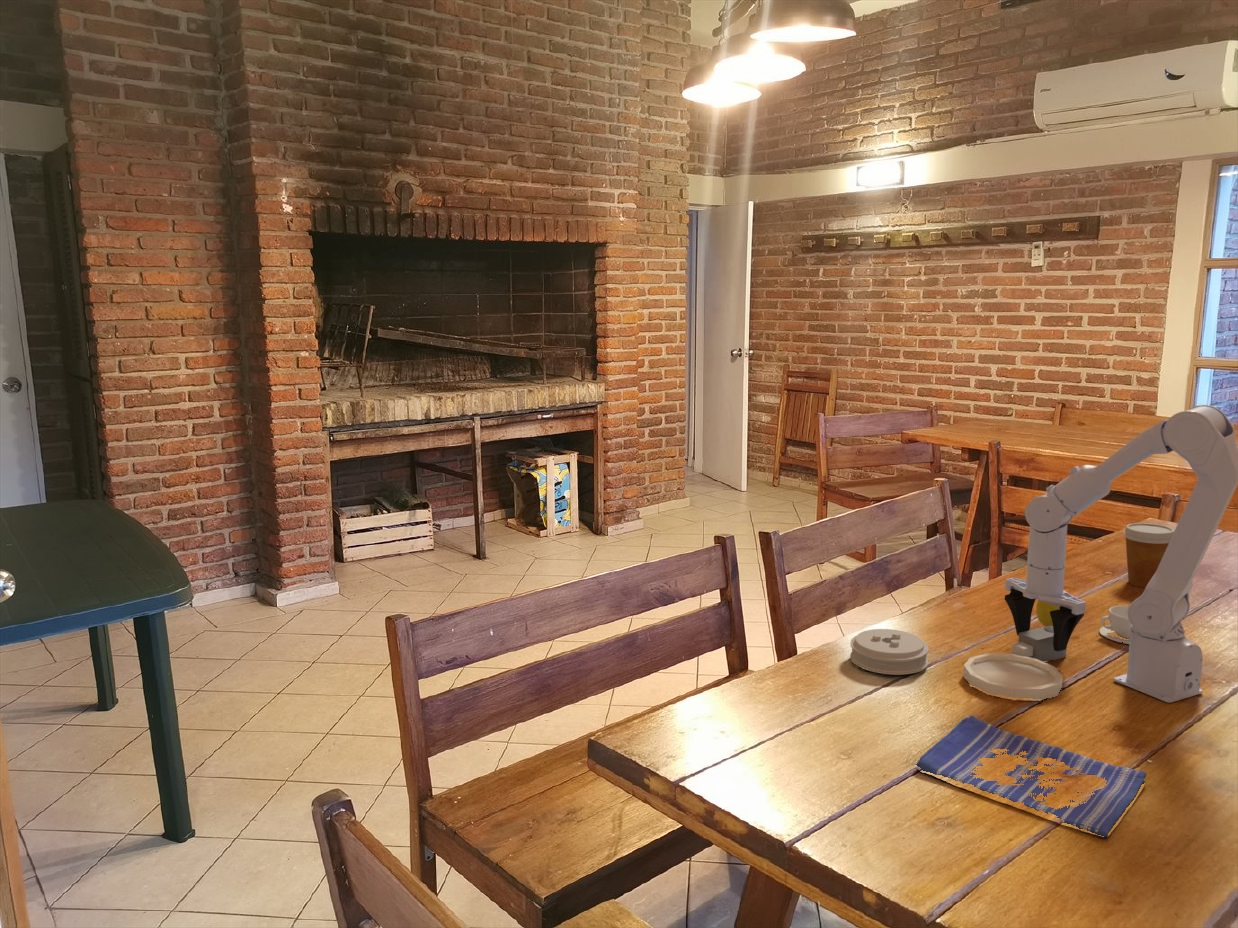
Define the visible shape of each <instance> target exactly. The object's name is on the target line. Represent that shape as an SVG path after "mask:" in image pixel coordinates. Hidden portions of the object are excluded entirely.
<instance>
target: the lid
mask: <svg viewBox="0 0 1238 928" xmlns="http://www.w3.org/2000/svg"><path fill="white" fill-rule="evenodd" d="M850 647H851V652H850V654H849V657H850V661H851V662H852V663H853V664H854V665H855V666H857V667H859V668H861V669H863V670H866V671H869V672H873V673H876V674H877V673H878V674H881V675H892V676H893V675H894V676H896V675H897V676H898V675H899V676H901V675H903V676H905V675H910V674H911V675H912V674H917V673H919V672H922V671H923V670H925V669H927V668H928V666H929V660H928V658H927V657H928V654H929V650H930V649H929V645H928V644H927V643H926V642H925V641H924V640H923V639H922V638H920V637H919V636H917V635H916V634H913V633H911V632H907V631H905V630H898V629H891V628H874V629H869V630H863V631H861V632H859V633H858V634H857V635H855V636H854V637H852V638H851V639H850Z"/></svg>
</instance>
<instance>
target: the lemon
mask: <svg viewBox="0 0 1238 928" xmlns="http://www.w3.org/2000/svg"><path fill="white" fill-rule="evenodd" d="M1054 610H1060V607H1057V606H1054V605H1052V604H1049V603H1046V602H1043V601H1040V600H1038V599H1037V602H1036V611H1035V612H1036V616H1037V619H1038V621H1039V622H1040V623H1041V624H1042V625H1043V627H1046V626H1053V623H1052V619H1051V616H1050V611H1054Z"/></svg>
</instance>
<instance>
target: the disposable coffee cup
mask: <svg viewBox="0 0 1238 928" xmlns="http://www.w3.org/2000/svg"><path fill="white" fill-rule="evenodd" d="M1174 531H1175V529H1173V528H1172V527H1169V526H1166V525H1162V524H1156V523H1145V522H1135V523H1128V524H1127V525H1126V527H1125V529H1124V530H1123V532H1122V533H1123V534H1124V537H1125V548H1126V549H1125V550H1126V564H1127V577H1128V578H1127V579H1128V583H1129V584H1130V585H1133V586H1135V587H1139V588H1144V589H1145V588H1146V586H1147V584H1148V583H1149V581H1150V580H1151V578H1152V577H1153V575H1154V574H1155V572H1156V571H1157V568H1158V566H1159V564H1160V562H1161V560H1162V557H1163V555H1164V553H1165V551H1166V549H1167V546H1168V544H1169V542H1170V540H1171V538H1172V535H1173V533H1174Z"/></svg>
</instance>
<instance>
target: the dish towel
mask: <svg viewBox="0 0 1238 928" xmlns="http://www.w3.org/2000/svg"><path fill="white" fill-rule="evenodd" d="M989 749H990V751H988V750H989ZM992 749H993V750H994V749H1007V750H1009V751H1007V754H1008V755H1009V754H1010V756H1012V757H1013V755H1014V756H1015V755H1019V753H1020V752H1022V751H1023V752H1024V751H1026V753H1028V754H1026V755H1022V756H1020V757H1022V758H1027V761H1029V763H1030V762H1031V763H1033V766H1037V764H1038V760H1036V758H1038V757H1039V758H1040V757H1041V758H1042V757H1043V758H1052V759H1056V761H1057V760H1058V761H1060V762H1064V763H1065V765H1067V766H1070V768H1073V767H1074V768H1075V767H1076V769H1074V771H1073V769H1072V770H1071V769H1070V770H1065V772H1063V773H1061V774H1065V775H1082V774H1080V773H1084V774H1083V775H1096V776H1097V778H1098V777H1099V778H1100V777H1101V778H1102V777H1103V779H1104V777H1105V780H1107V782H1106V784H1107V785H1106V787H1105V788H1103V789H1099V790H1096V791H1094V793H1095V794H1093V796H1092V795H1091V798H1090V799H1089V800H1088V801H1087V803H1085V804H1084V803H1083V804H1081V805H1080V804H1079V806H1077V807H1072V806H1071V807H1070V805H1069V806H1068V808H1067V806H1065V807H1063V808H1061V809H1060V808H1059V809H1057V810H1056V809H1054V808H1051V807H1048V806H1046V805H1044V804H1042V803H1040V802H1041V801H1035V800H1034V799H1033V796H1034V797H1035V799H1036V797H1037V795H1039V794H1040V793H1041V794H1042V793H1043V796H1044V797H1045V796H1046V797H1047V793H1054V792H1055V791H1056V790H1057V789H1055V787H1054V789H1053V787H1051V789H1050V787H1049V785H1048V789H1047V788H1045V787H1044V786H1043V788H1042V789H1041V786H1040V788H1039V785H1038V784H1041V782H1039V781H1038V780H1040V779H1037V778H1038V775H1039V776H1040V775H1046V773H1044V772H1041V771H1040V772H1039V771H1037V769H1034V770H1033V769H1032V770H1029V769H1028V768H1029V767H1027V766H1032V764H1031V765H1030V764H1029V763H1028V764H1029V765H1015V766H1016V769H1014V771H1009V772H1007V773H1005V775H1006V776H1007V775H1008V776H1010V777H1012V778H1016V781H1017V782H1016V783H1012V784H1021V785H1019V786H1017V785H1015V786H1014V785H1001V786H1000V785H997V784H999V782H997V781H987V780H986V779H985V780H984V779H982V778H981V779H980V778H977V779H976V777H975V778H973V777H974V776H973V775H977V774H975V773H973V772H971V771H973V770H974V769H976V767H975V768H974V766H983V765H982V763H980V761H978V760H979V758H980V759H981V758H997V756H996V755H999V754H995V753H993V752H991V751H992ZM1005 752H1006V751H1005ZM1000 753H1002V752H1000ZM1003 754H1004V752H1003V753H1002V755H1003ZM1005 754H1006V753H1005ZM1012 754H1013V755H1012ZM1000 755H1001V754H1000ZM1020 755H1021V754H1020ZM993 756H994V757H993ZM995 756H996V757H995ZM1017 758H1018V757H1017ZM1025 761H1026V760H1025ZM978 762H979V763H978ZM1026 764H1027V763H1026ZM1035 764H1036V765H1035ZM915 765H917V766H918V767H920V768H921V770H923V771H926V772H930V773H933V774H935V775H942V776H944V777H948V778H951V779H953V780H955V781H960V782H962V783H963V784H964V783H966V784H972V785H974V787H976V788H978V789H980V790H982V791H987V792H989V793H992V794H997V795H999V796H1001V797H1003V798H1005V797H1006V798H1007V799H1009V800H1011V801H1013V802H1019V803H1021V802H1022V803H1023V802H1024V805H1025V806H1027V807H1030V808H1034V809H1035V810H1037V809H1038V810H1037V811H1043V812H1045V813H1047V814H1048V812H1050V813H1051V814H1054V815H1056V816H1058V817H1057V818H1060V820H1061V821H1062V822H1063V823H1067V824H1071V825H1073V826H1076V827H1078V828H1079V829H1084V830H1087V831H1090V832H1092V833H1095V834H1097V835H1101V836H1104V837H1107V838H1109V837H1108V833H1109V832H1110V831H1111V829H1112V828H1113V826H1114V825H1115V824H1116V822H1117V821H1118V820H1119V818H1120V817H1121V816H1122V814H1123V813H1124V812H1125V810H1126V808H1127V807H1128V806H1129V805H1130V803H1131V802H1132V801H1133V800H1134V798H1135V797H1136V795H1137V793H1138V791H1139V789H1140V787H1141V785H1142V784H1144V783H1145V784H1146V781H1145V779H1146V777H1147V775H1148V773H1147V772H1146V771H1143V770H1136V769H1134V768H1130V767H1126V766H1120V765H1112V764H1110V763H1106V762H1102V761H1098V760H1096V759H1091V758H1090V757H1087V756H1085V755H1082V754H1078V753H1075V752H1073V751H1068V750H1066V749H1064V748H1061V747H1059V746H1055V745H1053V746H1051V745H1050V744H1047V743H1045V742H1041V741H1037V740H1034V739H1030V737H1027V736H1023V735H1019V734H1015V733H1012V732H1010V731H1008V730H1003V729H1000V728H998V727H996V726H994V725H992V724H991V723H989V722H986V721H984V720H981V719H979V718H978V717H976V716H975V715H970V716H969V717H965V718H963V719H962V720H960V721H959V722H958V724H957V725H955V727H953V729H951V730H950V731H949V733H947V734H946V736H944V737H943V738H941V739H940V740H939V741H937V742H936V743H935V744H934V745H933V746H932V747H931V748H929V749H928V750H927V751H926V752H925V753H924V754H923V755H921V757H919V759H918V761H917V762H916V764H915ZM1045 765H1046V766H1050V765H1049V764H1048V765H1047V764H1044V766H1045ZM1017 766H1018V767H1017ZM1024 766H1025V767H1024ZM1051 766H1057V765H1055V764H1052V765H1051ZM1051 766H1050V767H1051ZM1030 768H1031V767H1030ZM970 769H971V770H970ZM977 769H978V768H977ZM1052 769H1054V768H1053V767H1051V770H1052ZM1079 769H1082V770H1081V772H1080V770H1079ZM1035 770H1036V771H1035ZM1076 770H1079V772H1078V773H1077V772H1075V771H1076ZM974 771H976V770H974ZM1021 771H1022V772H1021ZM1023 771H1024V773H1023ZM1031 771H1032V773H1031ZM1033 771H1034V772H1033ZM1085 772H1086V773H1085ZM1026 773H1027V775H1035V776H1033V777H1032V776H1031V778H1030V777H1026V778H1025V779H1023V778H1022V776H1019V775H1024V774H1025V775H1026ZM1053 773H1054V772H1053ZM1051 774H1052V773H1051ZM970 775H972V776H970ZM978 775H979V774H978ZM1014 775H1016V776H1014ZM1017 775H1018V776H1017ZM1035 778H1036V779H1035ZM1030 779H1031V780H1030ZM1032 779H1033V780H1032ZM1041 780H1042V779H1041ZM1051 780H1052V779H1051ZM1054 780H1055V781H1058V780H1059V781H1060V782H1061V781H1062V782H1063V781H1064V780H1065V779H1064V780H1062V779H1053V780H1052V781H1054ZM1019 781H1020V782H1019ZM1021 781H1022V782H1021ZM1043 781H1045V780H1043ZM1049 781H1050V779H1049ZM1065 781H1066V780H1065ZM1065 781H1064V782H1065ZM1046 782H1047V781H1046ZM1022 784H1024V785H1022ZM1054 784H1055V783H1054ZM1057 784H1058V783H1057ZM1060 784H1061V783H1060ZM1037 785H1038V786H1037ZM1044 788H1045V790H1044ZM1049 789H1050V790H1049ZM1027 793H1028V794H1027ZM1029 793H1032V797H1031V794H1030V796H1029ZM1033 793H1034V795H1033ZM1035 793H1036V795H1035ZM1077 793H1079V792H1077ZM1081 793H1082V792H1081ZM1092 793H1093V792H1092ZM1040 796H1041V795H1040ZM1038 802H1039V803H1038ZM1042 802H1046V800H1044V798H1043V801H1042ZM1070 802H1071V800H1070ZM1072 802H1075V801H1073V800H1072ZM1076 802H1077V801H1076ZM1085 802H1086V801H1085ZM1107 838H1106V839H1107Z"/></svg>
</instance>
